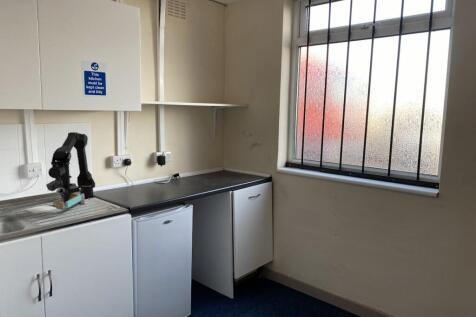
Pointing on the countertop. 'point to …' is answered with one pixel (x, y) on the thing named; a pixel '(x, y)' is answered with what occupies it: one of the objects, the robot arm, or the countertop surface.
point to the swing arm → (73, 201)
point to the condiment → (72, 196)
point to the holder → (60, 202)
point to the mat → (40, 209)
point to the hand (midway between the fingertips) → (65, 203)
